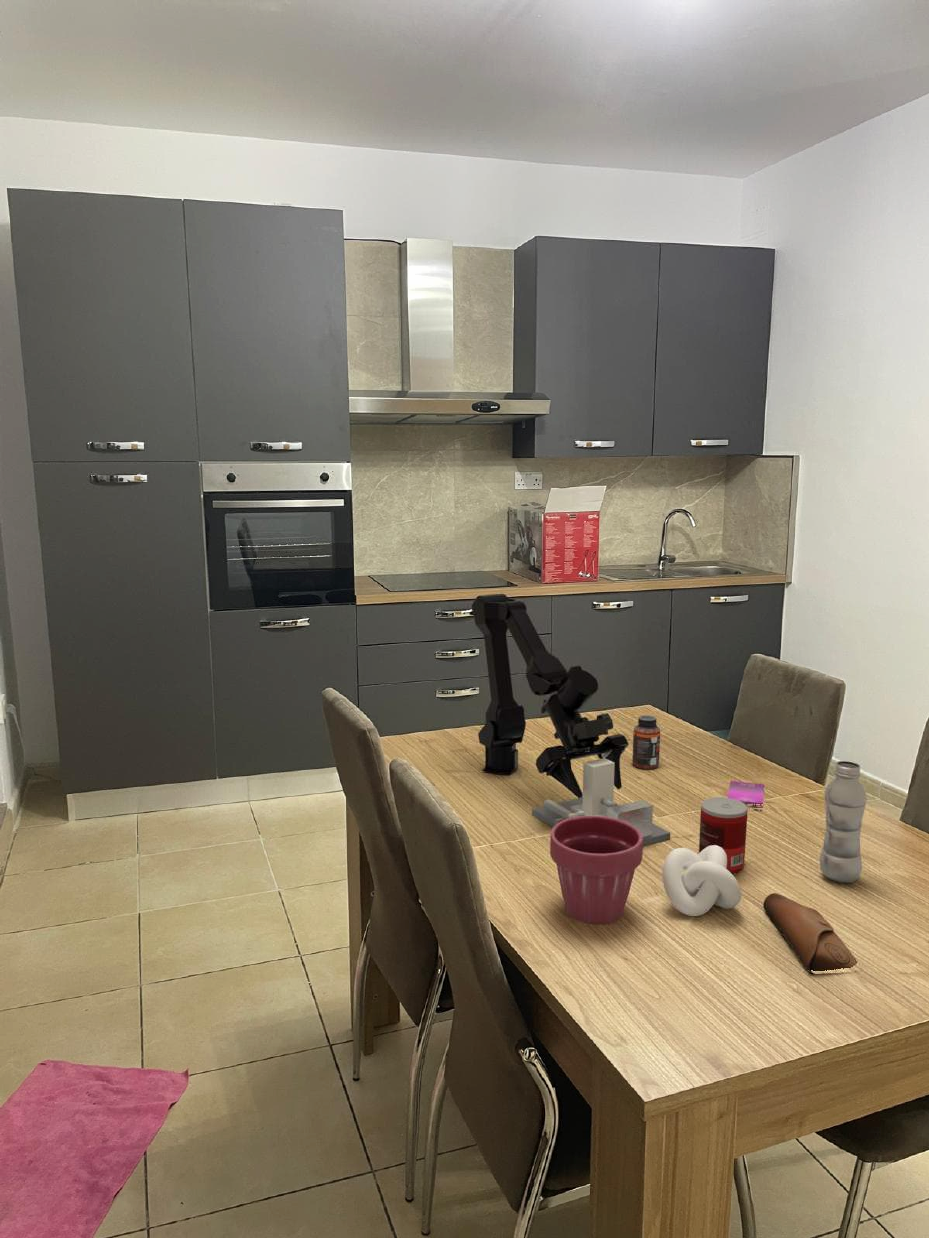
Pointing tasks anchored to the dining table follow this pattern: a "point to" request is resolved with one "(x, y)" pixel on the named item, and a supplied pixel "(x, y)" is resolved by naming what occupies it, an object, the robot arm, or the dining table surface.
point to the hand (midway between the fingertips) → (600, 792)
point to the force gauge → (596, 789)
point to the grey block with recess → (635, 815)
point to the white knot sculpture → (699, 880)
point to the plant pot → (595, 865)
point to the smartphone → (747, 793)
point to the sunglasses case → (808, 934)
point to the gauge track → (560, 811)
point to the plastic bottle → (843, 824)
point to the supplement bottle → (646, 743)
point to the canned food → (725, 829)
